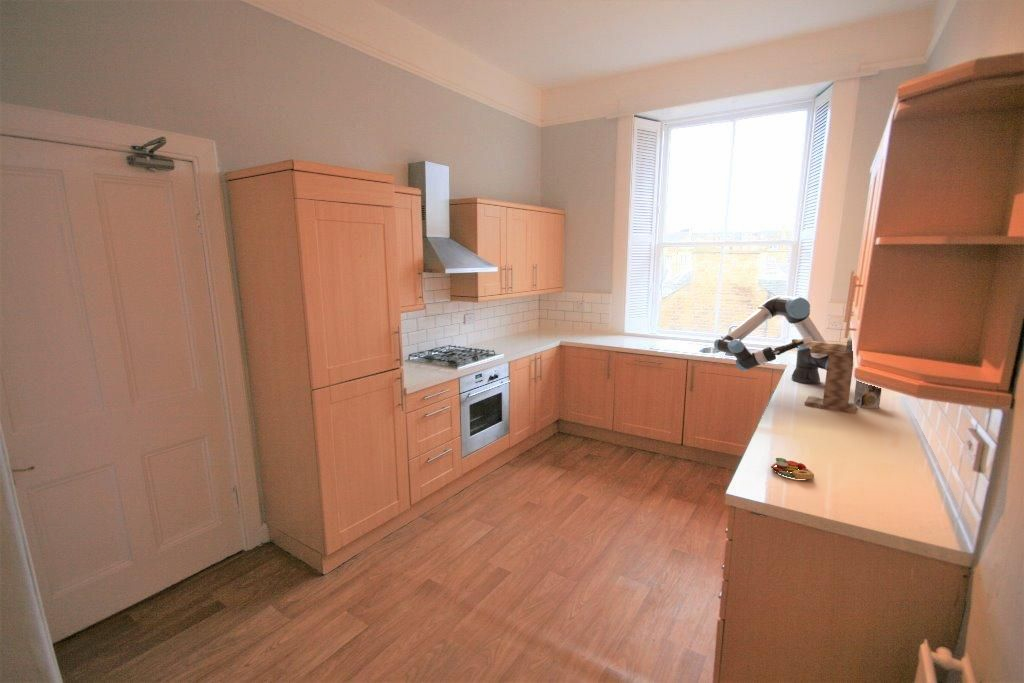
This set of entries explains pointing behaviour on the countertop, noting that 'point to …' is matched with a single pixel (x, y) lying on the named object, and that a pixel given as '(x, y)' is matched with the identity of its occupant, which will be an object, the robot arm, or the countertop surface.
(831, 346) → the wooden handled hammer
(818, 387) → the countertop surface
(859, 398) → the coffee box
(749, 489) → the countertop surface
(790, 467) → the toy food set
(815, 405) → the walnut stand
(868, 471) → the countertop surface
